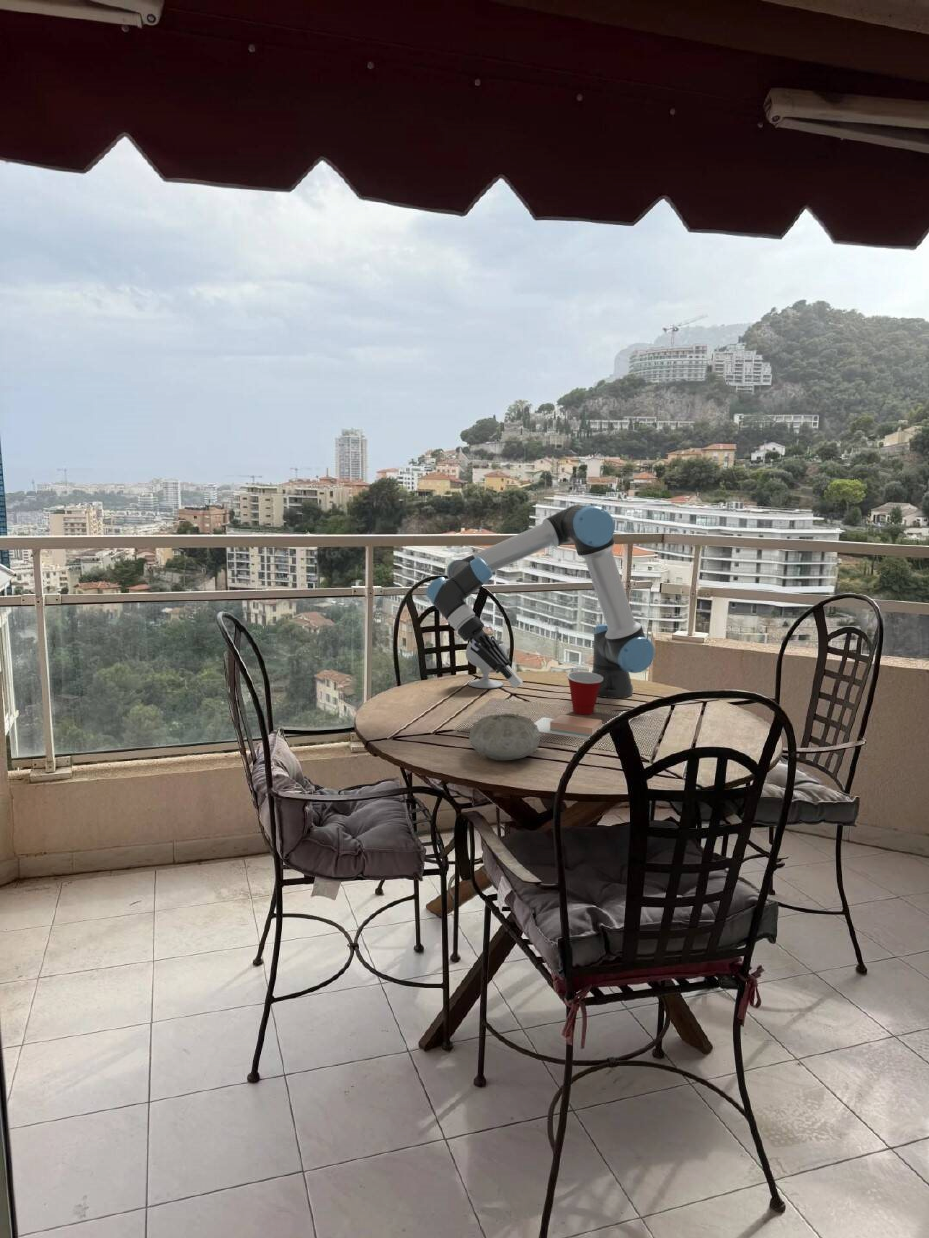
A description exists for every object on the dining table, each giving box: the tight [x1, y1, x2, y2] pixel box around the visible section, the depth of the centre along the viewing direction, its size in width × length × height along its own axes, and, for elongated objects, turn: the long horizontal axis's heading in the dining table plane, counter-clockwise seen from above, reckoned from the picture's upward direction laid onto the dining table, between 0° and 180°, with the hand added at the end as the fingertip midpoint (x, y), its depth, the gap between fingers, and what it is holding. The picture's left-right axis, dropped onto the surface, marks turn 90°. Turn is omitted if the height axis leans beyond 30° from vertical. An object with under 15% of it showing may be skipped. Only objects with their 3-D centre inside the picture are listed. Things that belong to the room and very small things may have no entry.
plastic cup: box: [566, 670, 603, 716], centre depth 243 cm, size 11×11×12 cm
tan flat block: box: [550, 713, 603, 736], centre depth 226 cm, size 2×9×12 cm
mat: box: [533, 716, 589, 740], centre depth 227 cm, size 20×14×1 cm
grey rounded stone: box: [468, 712, 541, 761], centre depth 205 cm, size 18×18×10 cm
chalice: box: [465, 639, 508, 689], centre depth 277 cm, size 14×14×15 cm
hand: (518, 685), depth 232 cm, fingers closed
